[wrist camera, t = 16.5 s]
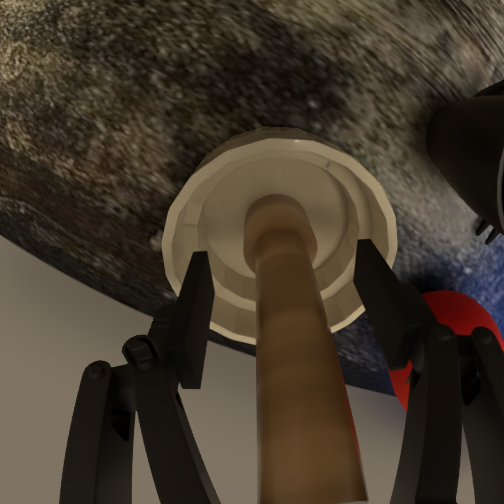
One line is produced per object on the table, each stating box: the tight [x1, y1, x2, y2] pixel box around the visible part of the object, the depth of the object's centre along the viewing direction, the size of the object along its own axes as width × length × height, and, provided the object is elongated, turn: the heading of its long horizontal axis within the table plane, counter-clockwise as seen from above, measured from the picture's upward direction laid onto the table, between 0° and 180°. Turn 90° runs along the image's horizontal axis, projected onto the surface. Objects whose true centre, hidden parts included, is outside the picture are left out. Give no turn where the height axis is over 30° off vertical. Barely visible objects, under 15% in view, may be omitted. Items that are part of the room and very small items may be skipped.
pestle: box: [243, 194, 369, 504], centre depth 13 cm, size 4×4×18 cm
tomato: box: [388, 290, 504, 411], centre depth 20 cm, size 11×11×13 cm
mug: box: [426, 80, 504, 235], centre depth 13 cm, size 8×12×10 cm
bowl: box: [161, 126, 397, 345], centre depth 19 cm, size 13×13×6 cm
